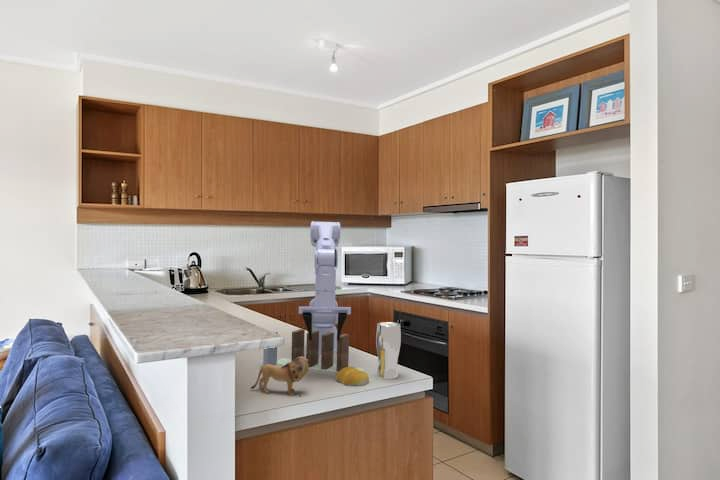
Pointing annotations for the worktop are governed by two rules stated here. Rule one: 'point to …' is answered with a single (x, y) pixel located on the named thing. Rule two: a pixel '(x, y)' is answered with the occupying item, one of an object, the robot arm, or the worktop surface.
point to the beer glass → (388, 349)
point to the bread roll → (352, 377)
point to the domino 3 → (312, 349)
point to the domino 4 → (327, 350)
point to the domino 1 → (270, 355)
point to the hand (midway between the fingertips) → (324, 340)
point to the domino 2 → (297, 344)
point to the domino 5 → (342, 352)
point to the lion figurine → (283, 373)
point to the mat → (317, 367)
